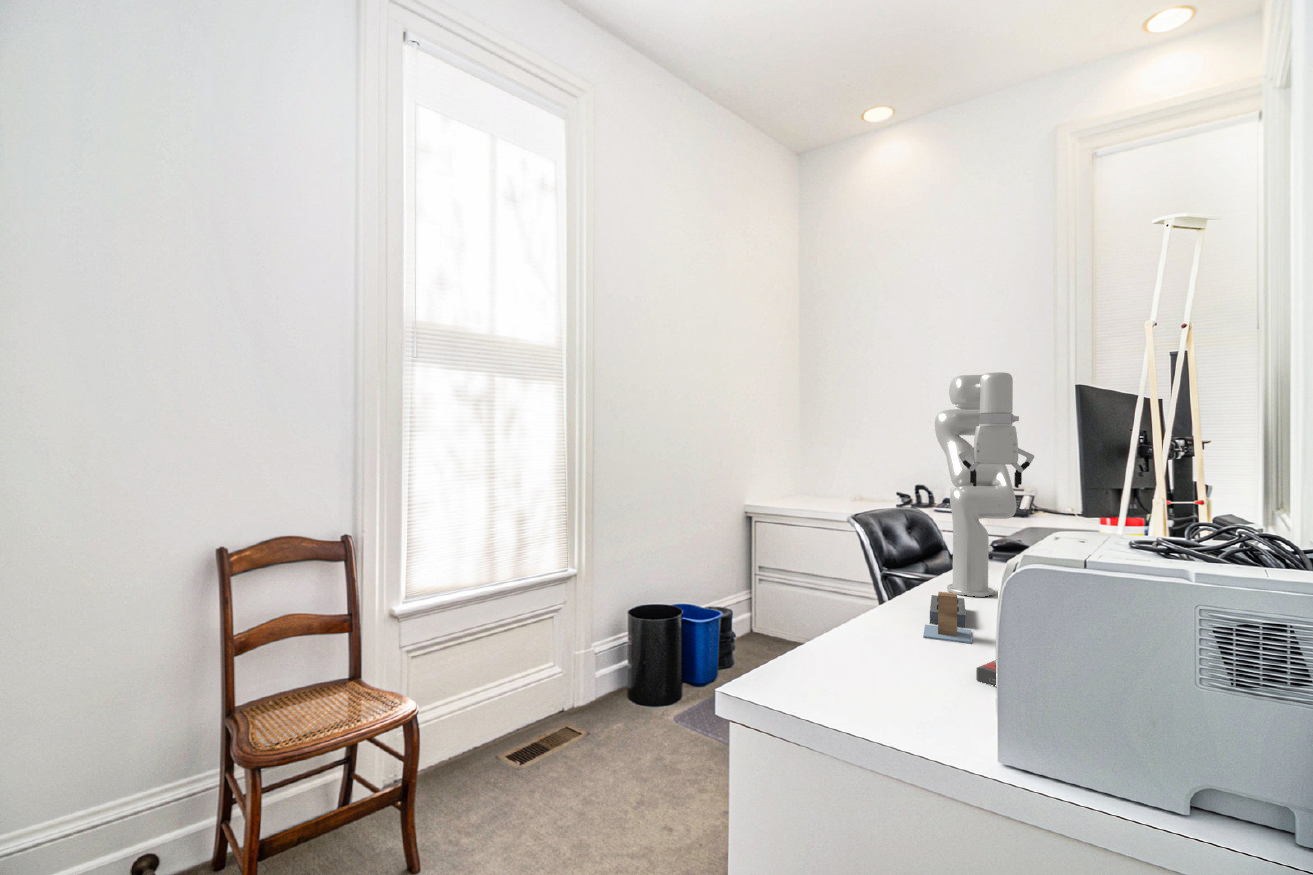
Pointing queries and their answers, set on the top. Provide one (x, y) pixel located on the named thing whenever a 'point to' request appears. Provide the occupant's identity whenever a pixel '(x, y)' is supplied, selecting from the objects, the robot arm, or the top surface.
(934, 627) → the pad
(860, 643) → the top surface
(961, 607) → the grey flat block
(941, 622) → the plug
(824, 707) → the top surface
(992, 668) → the walkie-talkie
